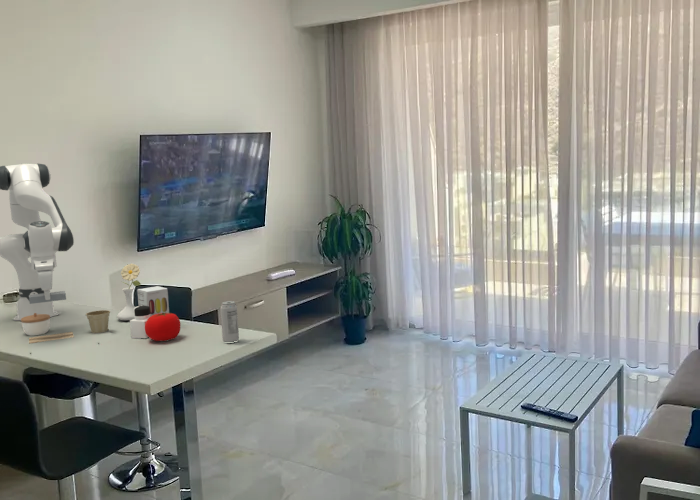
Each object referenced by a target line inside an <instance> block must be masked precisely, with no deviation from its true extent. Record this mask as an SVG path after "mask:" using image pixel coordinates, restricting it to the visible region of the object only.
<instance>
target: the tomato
mask: <svg viewBox="0 0 700 500" xmlns="http://www.w3.org/2000/svg"><path fill="white" fill-rule="evenodd" d="M145 332H146V335H147V336H148V337H149V338H148V339H151V340H153V341H155V342H167V340H168V341H171V340H174V339H176V338H177V337H178V336H179V334H180V332H181V321H180V318H179V317H178V316H177V314H176V313H172V312H169V313H159V314H155V315H152V316H151V317H149V318H148V320H147V321H146V324H145Z"/></svg>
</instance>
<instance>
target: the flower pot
mask: <svg viewBox="0 0 700 500" xmlns="http://www.w3.org/2000/svg"><path fill="white" fill-rule="evenodd" d="M110 313H111V311H110V310H109V309H99V310H93V311H87V312H86V313H85V316H86V317H87V318H86V319H87V320H88V324H89V328H90V331H91V332H90V333H92V334H99V333H106V332H108V331H109V318H110Z"/></svg>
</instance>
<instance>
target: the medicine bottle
mask: <svg viewBox="0 0 700 500" xmlns="http://www.w3.org/2000/svg"><path fill="white" fill-rule="evenodd" d="M134 317H135V319H132V320H129V326H130V327H129V328H130V335H131V336H130V337H131V339H141V338H147V339H149V338H148V336H147V335H146V332H145V324H146V321H147V320H148V318H149V317H150V307H149V306H139V305H138V306H135V308H134Z"/></svg>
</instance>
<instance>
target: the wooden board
mask: <svg viewBox="0 0 700 500" xmlns="http://www.w3.org/2000/svg"><path fill="white" fill-rule="evenodd" d="M70 338H74V332H73V331H68V332H61V333H54V334H53V333H52V334H46V335H37V336H31V337H28V344H37V343H42V342H51V341H56V340H64V339H70Z"/></svg>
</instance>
